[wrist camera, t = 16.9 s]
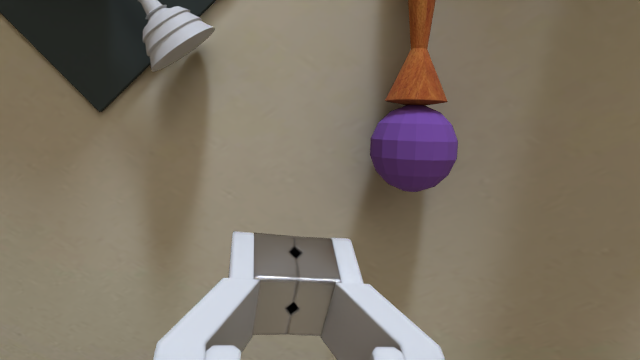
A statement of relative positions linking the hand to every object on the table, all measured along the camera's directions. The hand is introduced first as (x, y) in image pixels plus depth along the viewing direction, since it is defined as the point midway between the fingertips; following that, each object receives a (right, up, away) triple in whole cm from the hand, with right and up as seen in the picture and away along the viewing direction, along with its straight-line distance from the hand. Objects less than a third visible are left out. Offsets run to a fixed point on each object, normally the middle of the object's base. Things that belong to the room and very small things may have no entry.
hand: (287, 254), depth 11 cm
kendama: (+8, +12, +21) cm, 25 cm away
